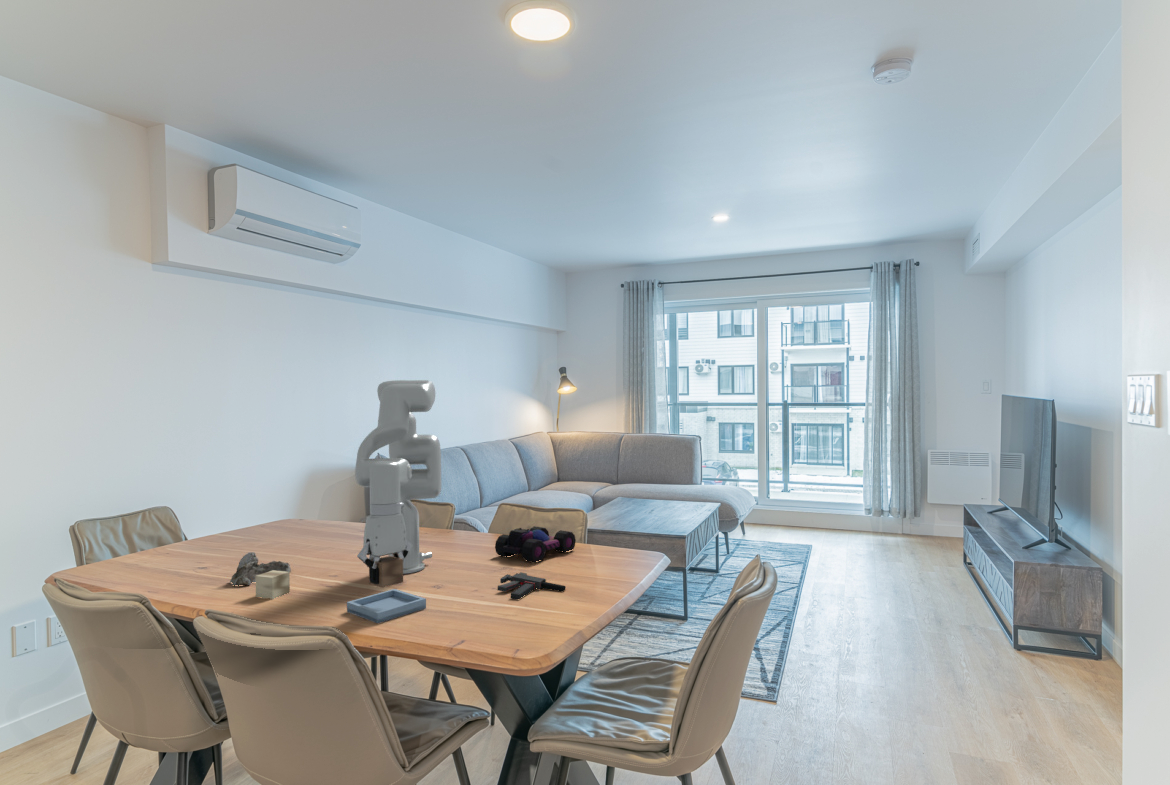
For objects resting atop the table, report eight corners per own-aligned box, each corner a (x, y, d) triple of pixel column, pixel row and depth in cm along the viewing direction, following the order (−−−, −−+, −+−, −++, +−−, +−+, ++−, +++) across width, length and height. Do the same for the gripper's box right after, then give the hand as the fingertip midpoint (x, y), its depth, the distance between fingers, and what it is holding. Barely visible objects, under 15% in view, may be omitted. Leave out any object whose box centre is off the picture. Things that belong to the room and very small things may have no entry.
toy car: (578, 550, 227) (577, 522, 227) (529, 566, 207) (528, 535, 207) (542, 544, 237) (541, 517, 237) (492, 558, 217) (491, 529, 217)
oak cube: (273, 591, 183) (272, 570, 183) (289, 593, 181) (289, 571, 181) (255, 597, 178) (255, 575, 178) (272, 599, 176) (272, 577, 176)
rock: (239, 586, 186) (235, 552, 189) (222, 594, 192) (219, 561, 194) (298, 576, 200) (294, 545, 203) (282, 584, 206) (277, 553, 209)
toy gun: (546, 598, 169) (569, 580, 182) (484, 586, 176) (511, 569, 190) (545, 610, 169) (569, 590, 183) (484, 597, 176) (511, 579, 190)
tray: (394, 598, 175) (394, 588, 175) (426, 608, 166) (426, 598, 166) (347, 611, 164) (346, 602, 164) (378, 623, 155) (377, 613, 155)
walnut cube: (389, 578, 169) (389, 555, 169) (403, 582, 165) (402, 558, 165) (369, 583, 165) (368, 560, 165) (382, 587, 161) (382, 563, 161)
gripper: (405, 504, 174) (406, 570, 174) (346, 513, 161) (347, 585, 161) (422, 506, 169) (423, 575, 169) (363, 516, 156) (363, 590, 156)
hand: (386, 579), depth 165 cm, fingers closed on walnut cube, 6 cm apart
